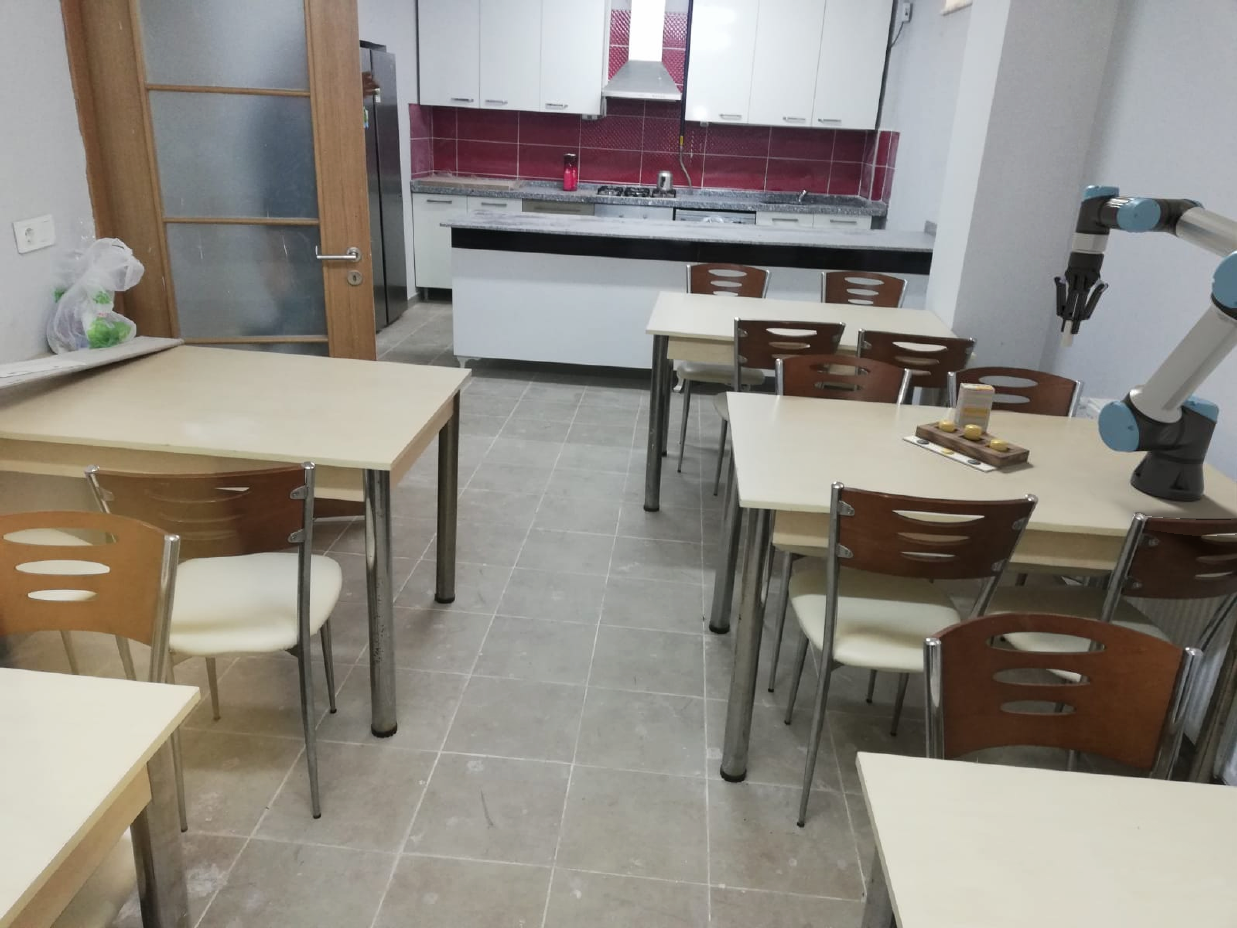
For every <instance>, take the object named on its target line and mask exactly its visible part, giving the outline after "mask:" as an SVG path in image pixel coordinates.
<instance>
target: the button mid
mask: <svg viewBox="0 0 1237 928" xmlns="http://www.w3.org/2000/svg"><path fill="white" fill-rule="evenodd" d="M981 431H982V428H981V427H980V426H976V425H966V428H965V433H964V437H965V438H968V439H972V440H979V439H980V436H981Z"/></svg>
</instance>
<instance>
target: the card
mask: <svg viewBox="0 0 1237 928" xmlns="http://www.w3.org/2000/svg"><path fill="white" fill-rule="evenodd" d="M901 440H903V441H906V442H908V443H910V444H914V445H916V446H919V447H921V448H924V449H926V450H929V451H931V452H934V453H936V454H938V455H941V456H944V457H946V458H949V459H951V460H954V461H956V462H958V463H961V464H963V465H966V466H968V467H972V468H974V469H976V470H979V471H981V472H984V473H987V472H990V471H995V470H997V468H996V467H993V466H991V465H988V464H986V463H983V462H980V461H978V460H975V459H973V458H970V457H967V456H965V455H962V454H960V453H957V452H955V451H952V450H949V449H947V448H944V447H942V446H939V445H936V444H934V443H931V442H929V441H926V440H924V439H921V438H918V437H916V436H915V435H909V436H905V437H902V439H901Z"/></svg>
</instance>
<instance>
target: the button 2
mask: <svg viewBox="0 0 1237 928" xmlns="http://www.w3.org/2000/svg"><path fill="white" fill-rule="evenodd" d="M997 439H998V438H996V439H994V440H991V444H990V448H991V449H993V450H996V451H999V452H1004V451H1006V450H1007V445H1008V443H1009V442H1008V441H1005V440H1002V439H999V440H997Z"/></svg>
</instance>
